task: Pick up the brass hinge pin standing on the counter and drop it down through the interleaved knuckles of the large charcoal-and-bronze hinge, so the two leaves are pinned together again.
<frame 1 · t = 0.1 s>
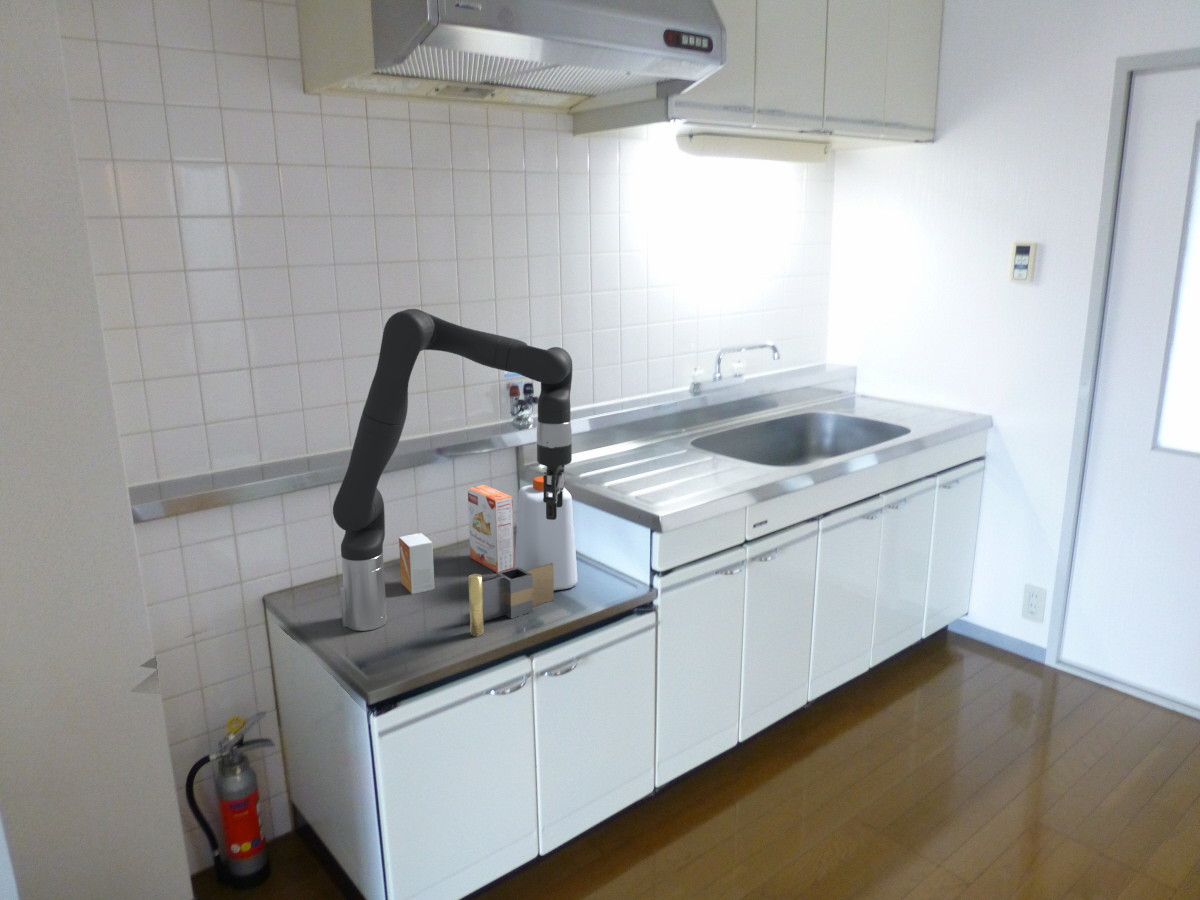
hand: (554, 512, 191), 29 cm above the counter, fingers open, 8 cm apart
plastic bottle: (545, 582, 228), on the counter
hinge pin: (477, 633, 198), on the counter
small box: (417, 587, 224), on the counter
cracker box: (491, 564, 240), on the counter
hinge: (515, 611, 210), on the counter
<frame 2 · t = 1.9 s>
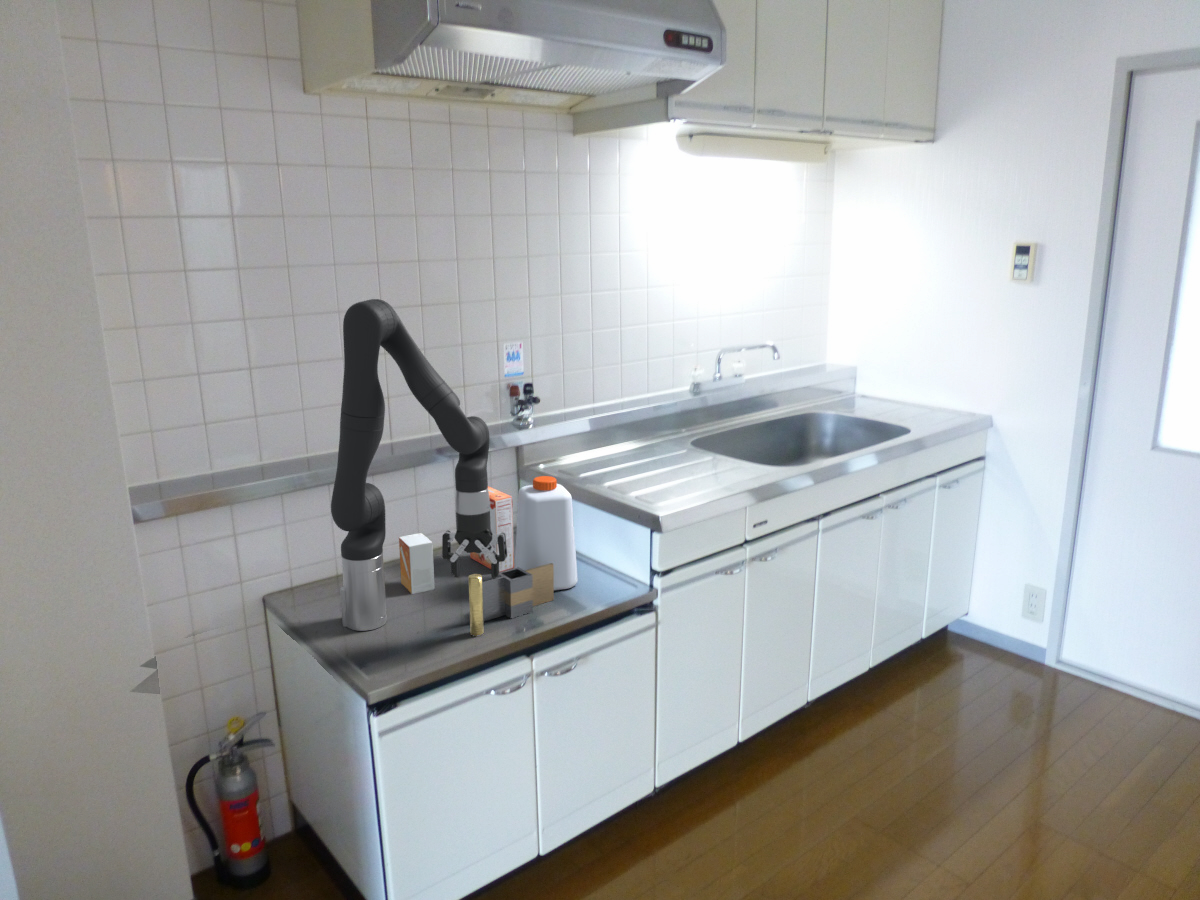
hand: (475, 577, 195), 14 cm above the counter, fingers open, 8 cm apart
nothing on the counter moved.
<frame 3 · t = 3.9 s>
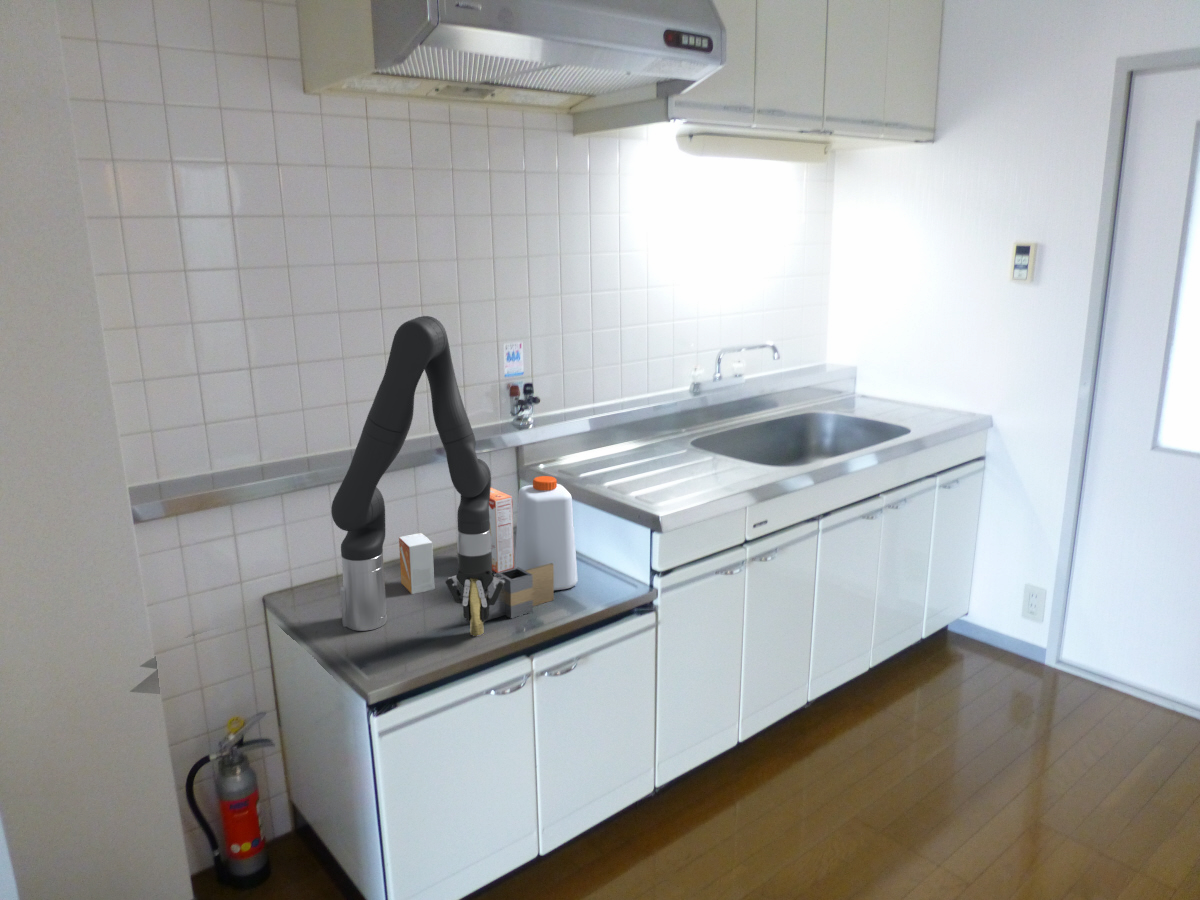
hand: (476, 619, 197), 3 cm above the counter, fingers closed on hinge pin, 3 cm apart
hinge pin: (477, 633, 198), on the counter, touching gripper
everything else where it was.
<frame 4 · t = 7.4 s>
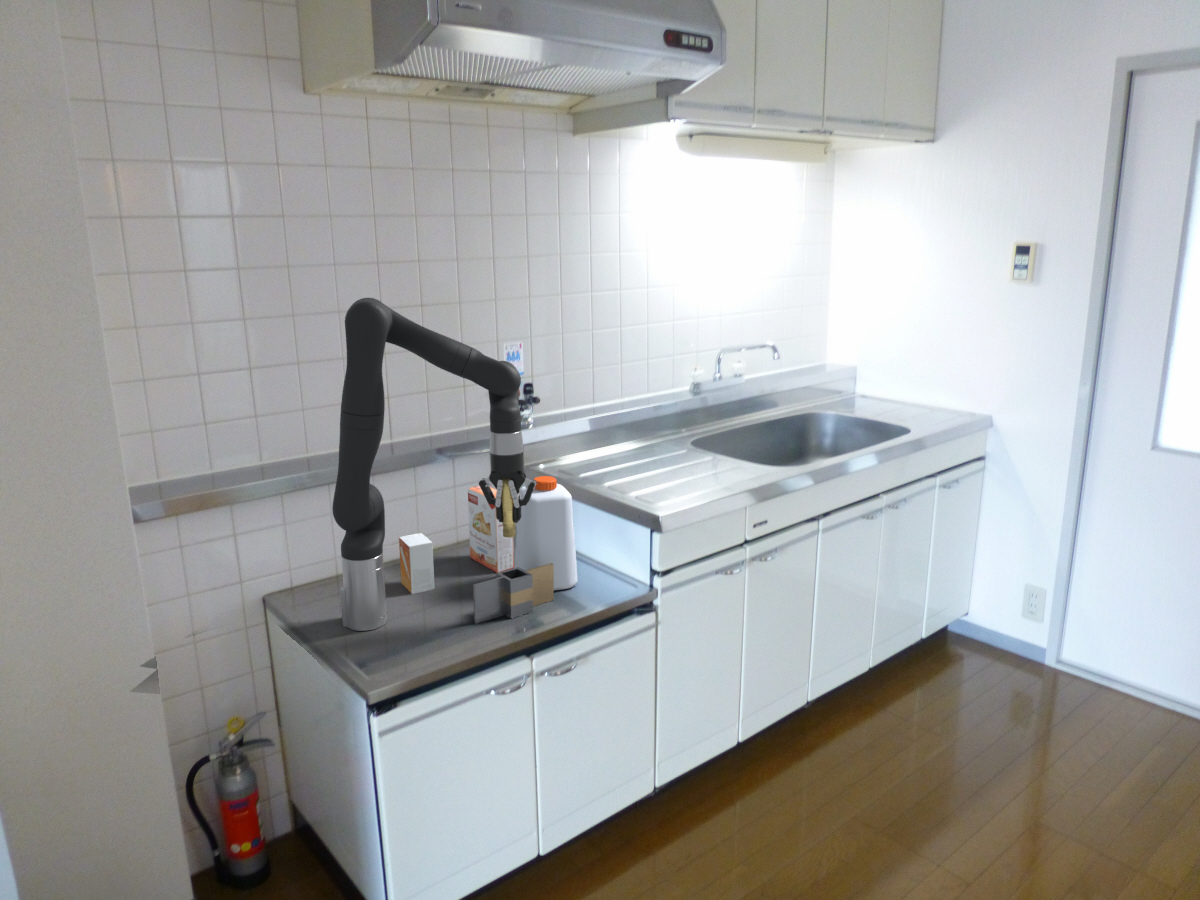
hand: (509, 521, 202), 24 cm above the counter, fingers closed on hinge pin, 3 cm apart
hinge pin: (509, 535, 203), point 20 cm above the counter, touching gripper
everything else where it was.
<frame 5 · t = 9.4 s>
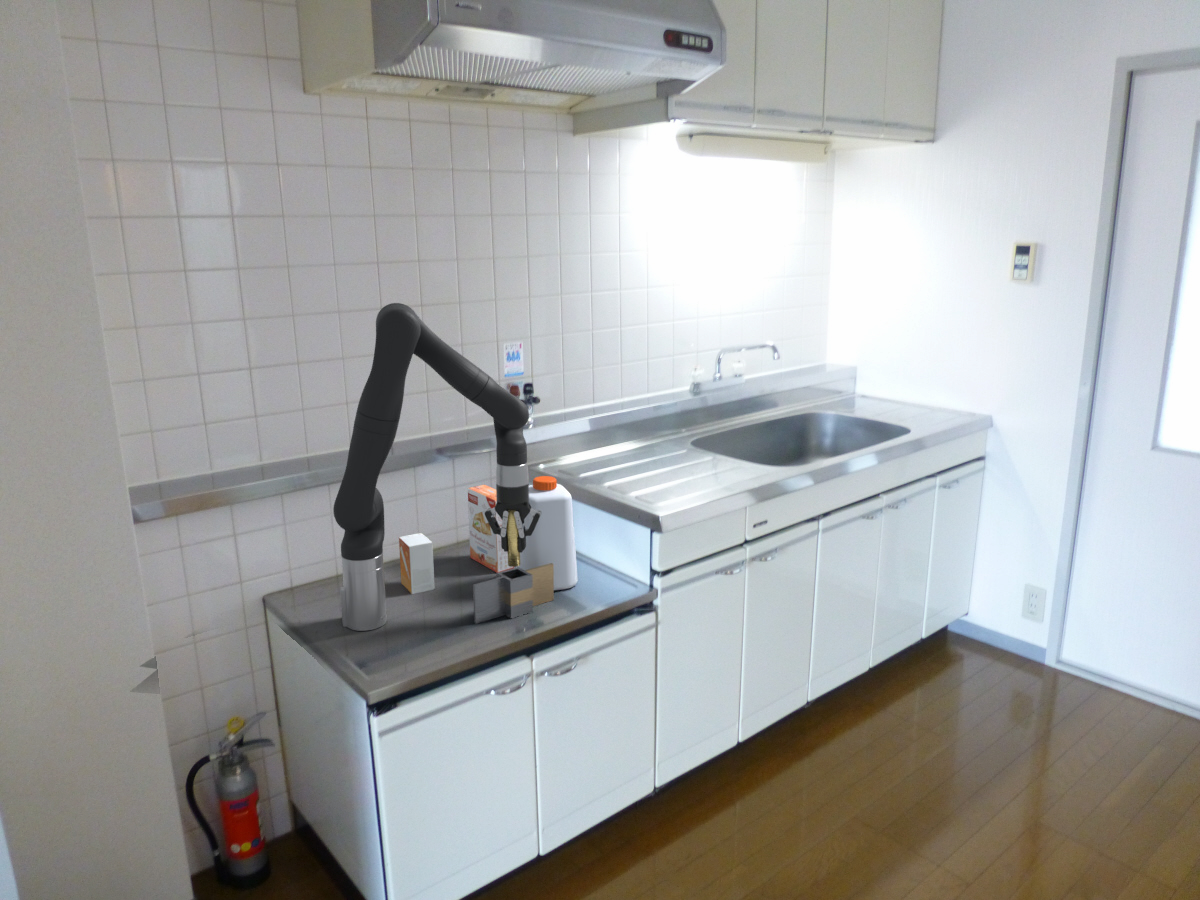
hand: (513, 550, 206), 16 cm above the counter, fingers closed on hinge pin, 3 cm apart
hinge pin: (514, 564, 207), point 12 cm above the counter, touching gripper
everything else where it was.
when the fingers open (11 cm above the counter, at t = 11.2 s): hinge pin drops 8 cm, resting in hinge.
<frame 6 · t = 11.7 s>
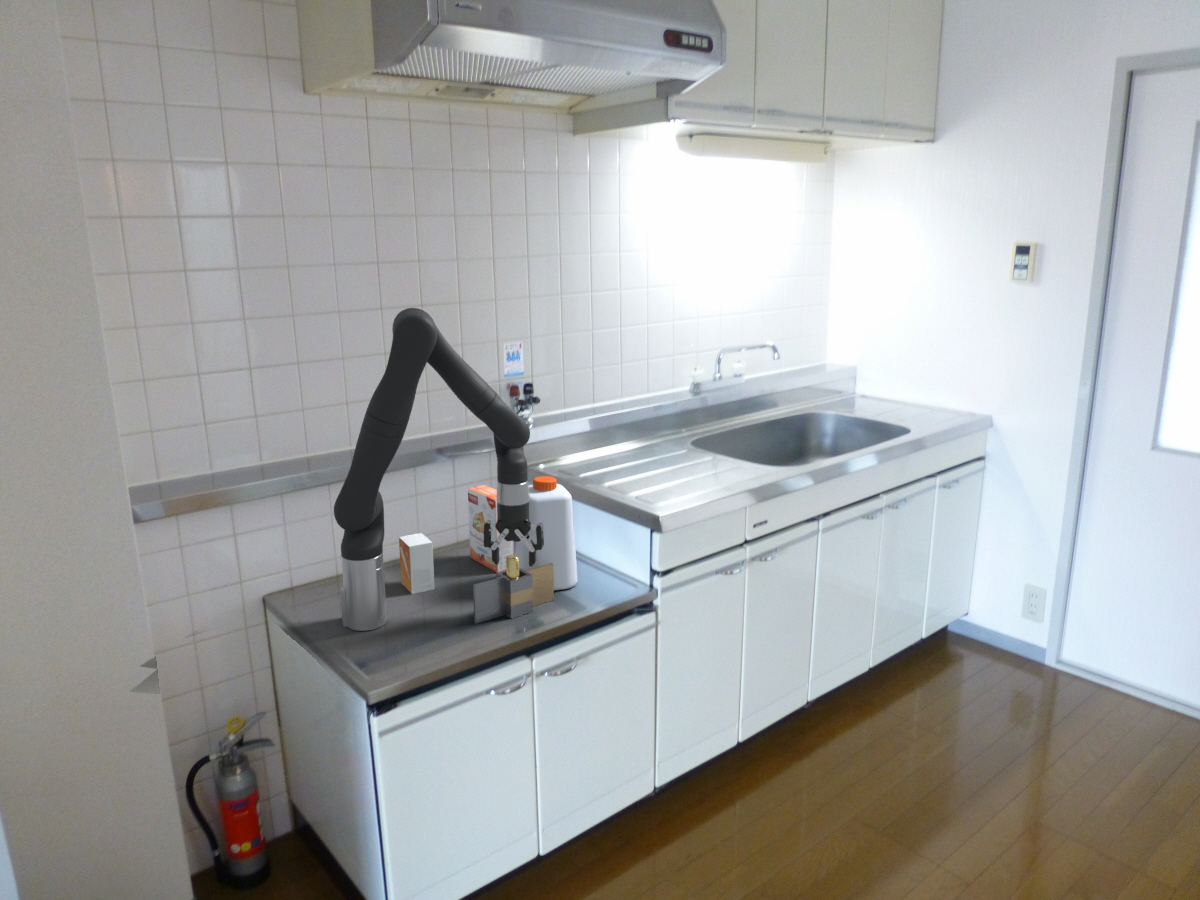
hand: (514, 564, 207), 12 cm above the counter, fingers open, 8 cm apart
hinge pin: (514, 611, 210), resting in hinge
everything else where it was.
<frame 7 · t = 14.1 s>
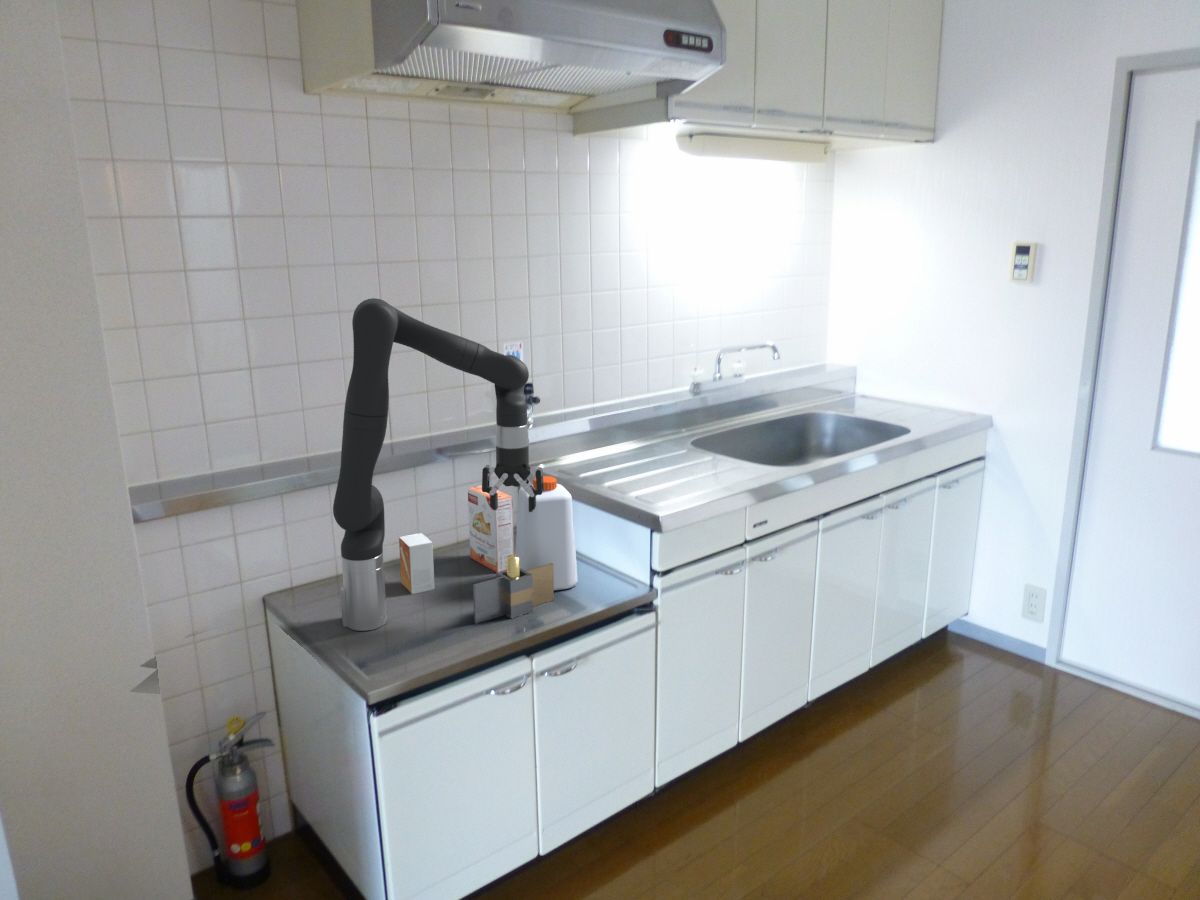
hand: (513, 510, 204), 26 cm above the counter, fingers open, 8 cm apart
nothing on the counter moved.
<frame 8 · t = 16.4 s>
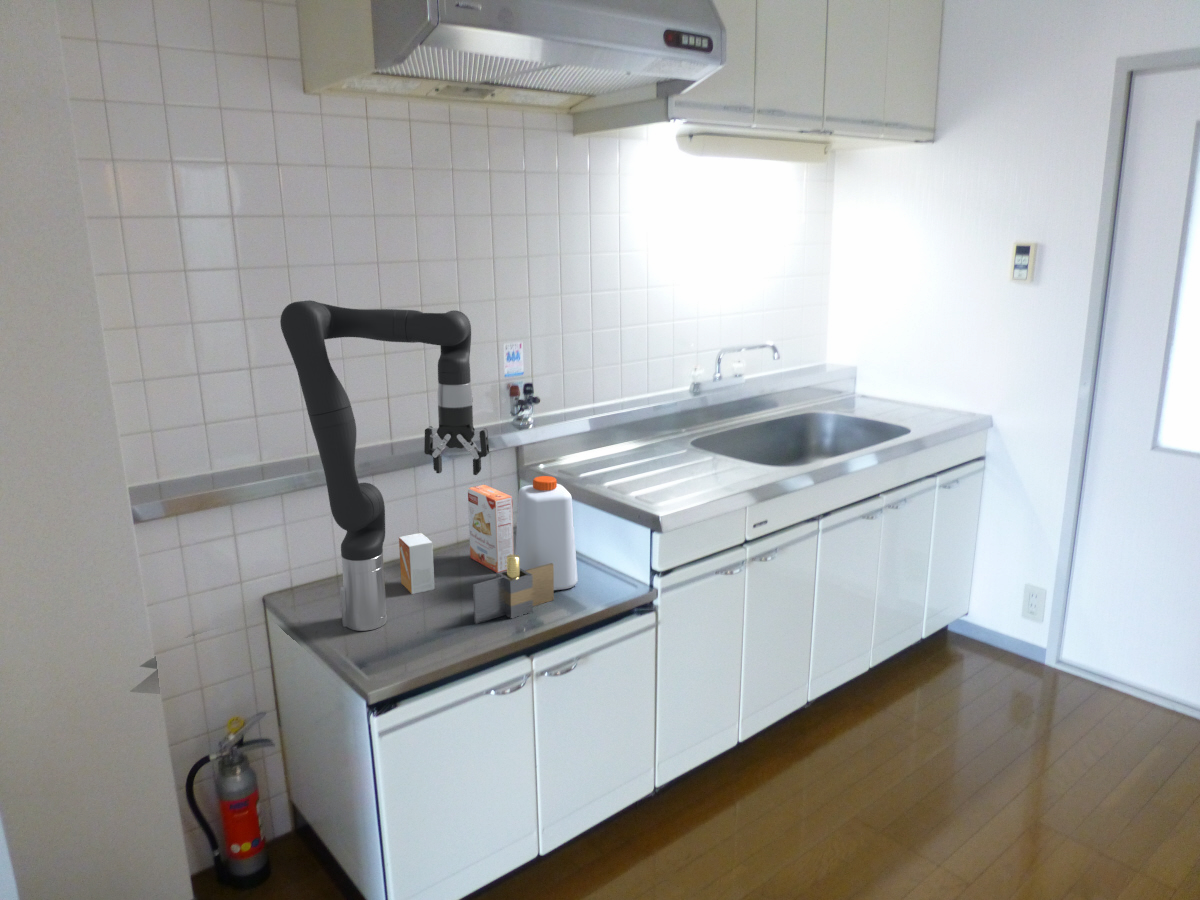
hand: (457, 473, 196), 36 cm above the counter, fingers open, 8 cm apart
nothing on the counter moved.
at the end: hinge pin 0.2 cm off-centre on the hinge, point 0.0 cm above the hinge's base; hinge pin tilted 0°; the gripper is holding nothing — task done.
